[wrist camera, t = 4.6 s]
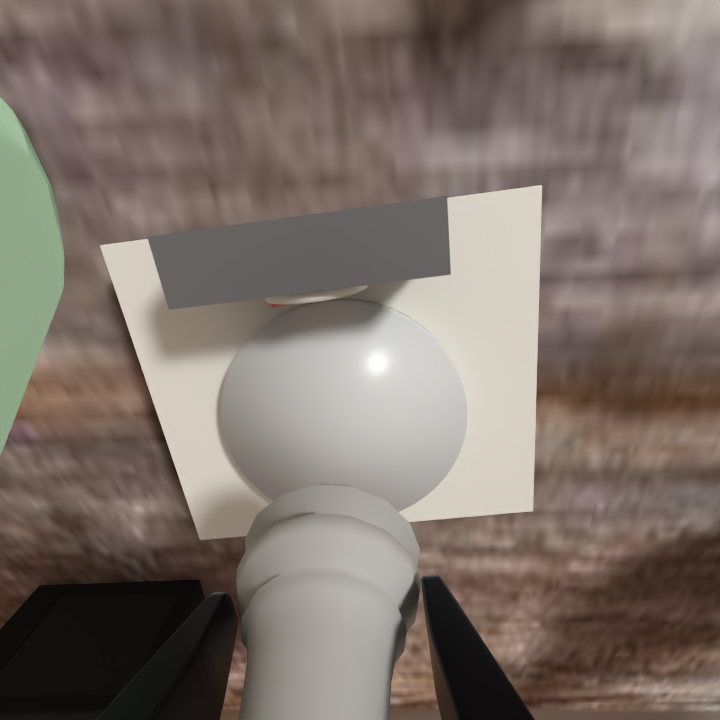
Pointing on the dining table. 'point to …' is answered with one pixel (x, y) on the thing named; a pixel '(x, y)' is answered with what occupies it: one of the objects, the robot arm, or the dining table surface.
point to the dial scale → (345, 355)
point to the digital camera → (85, 644)
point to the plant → (24, 263)
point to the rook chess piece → (325, 605)
